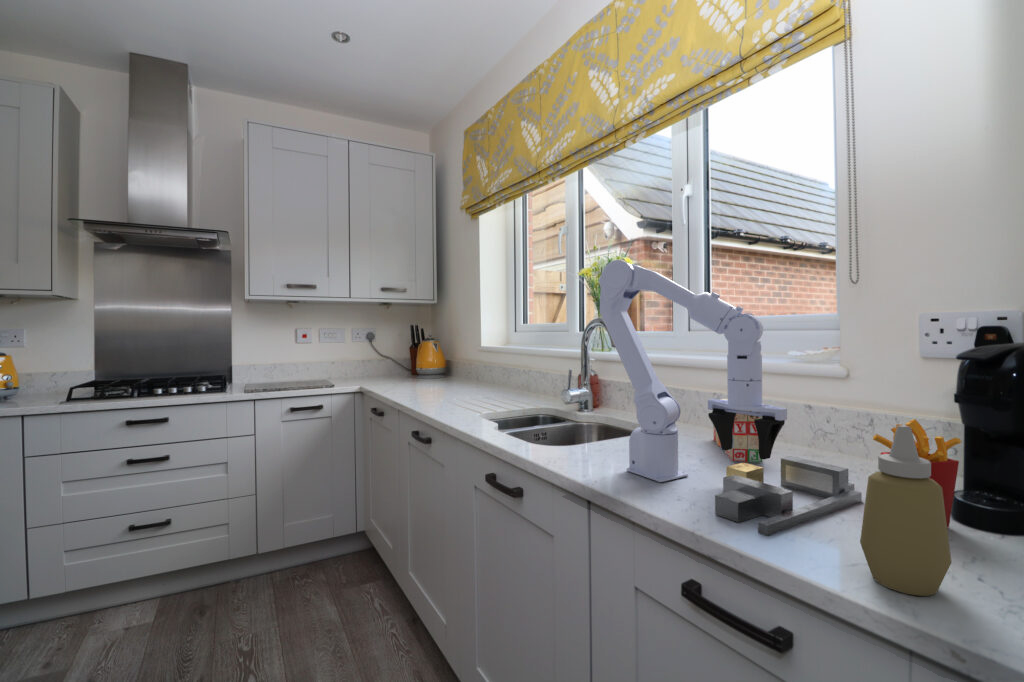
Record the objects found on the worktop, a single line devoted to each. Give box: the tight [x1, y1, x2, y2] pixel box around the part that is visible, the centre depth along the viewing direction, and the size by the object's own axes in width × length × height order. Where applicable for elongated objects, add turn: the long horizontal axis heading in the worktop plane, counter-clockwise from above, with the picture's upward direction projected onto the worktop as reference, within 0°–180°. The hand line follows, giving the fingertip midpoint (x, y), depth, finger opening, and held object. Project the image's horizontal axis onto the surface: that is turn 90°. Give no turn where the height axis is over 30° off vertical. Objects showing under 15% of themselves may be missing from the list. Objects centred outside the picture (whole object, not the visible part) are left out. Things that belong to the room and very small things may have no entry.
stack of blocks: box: [712, 398, 764, 463], centre depth 116 cm, size 21×6×12 cm, turn 168°
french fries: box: [872, 418, 962, 528], centre depth 73 cm, size 9×8×15 cm
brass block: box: [725, 462, 765, 483], centre depth 88 cm, size 4×5×4 cm
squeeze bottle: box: [859, 425, 952, 597], centre depth 55 cm, size 8×8×18 cm
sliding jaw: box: [714, 475, 794, 524], centre depth 77 cm, size 10×9×4 cm
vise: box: [757, 455, 863, 537], centre depth 80 cm, size 12×28×5 cm, turn 120°
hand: (745, 453), depth 88 cm, fingers open, 7 cm apart
